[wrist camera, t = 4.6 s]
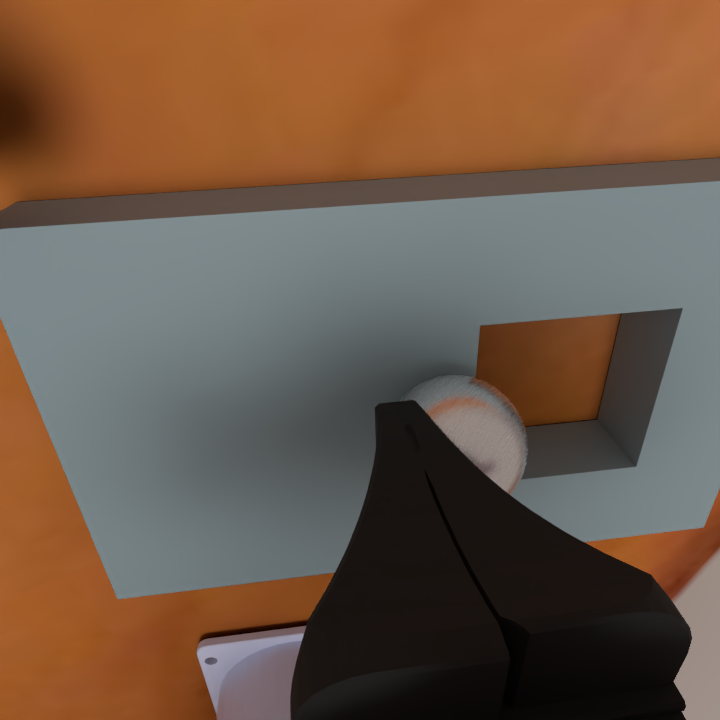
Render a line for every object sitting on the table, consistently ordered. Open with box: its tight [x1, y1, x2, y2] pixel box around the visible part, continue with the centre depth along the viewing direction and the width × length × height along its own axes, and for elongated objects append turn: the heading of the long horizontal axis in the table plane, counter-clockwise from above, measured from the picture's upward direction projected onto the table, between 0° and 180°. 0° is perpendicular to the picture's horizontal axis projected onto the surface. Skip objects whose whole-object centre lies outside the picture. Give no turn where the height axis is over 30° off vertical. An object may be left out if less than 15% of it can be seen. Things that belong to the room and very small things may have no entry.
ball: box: [400, 375, 528, 495], centre depth 13 cm, size 4×4×4 cm
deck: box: [0, 158, 720, 599], centre depth 16 cm, size 12×20×2 cm, turn 92°
